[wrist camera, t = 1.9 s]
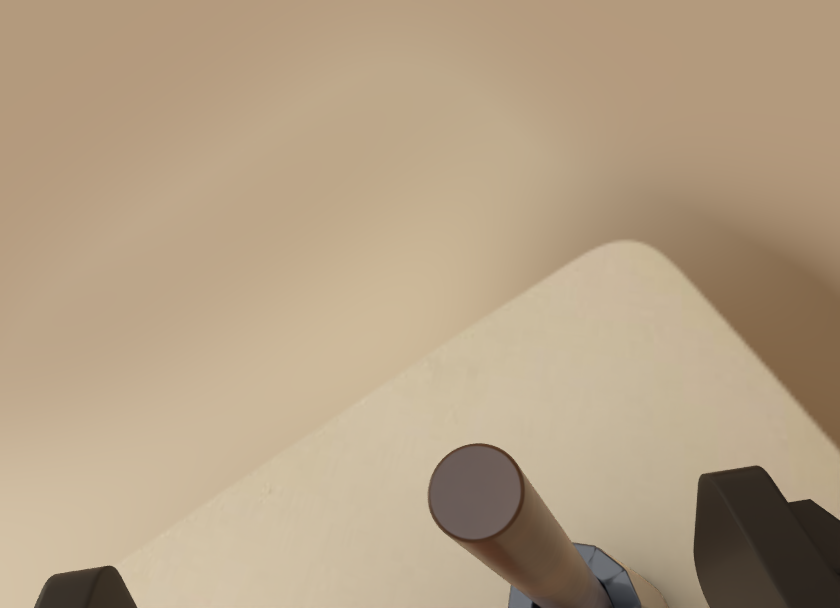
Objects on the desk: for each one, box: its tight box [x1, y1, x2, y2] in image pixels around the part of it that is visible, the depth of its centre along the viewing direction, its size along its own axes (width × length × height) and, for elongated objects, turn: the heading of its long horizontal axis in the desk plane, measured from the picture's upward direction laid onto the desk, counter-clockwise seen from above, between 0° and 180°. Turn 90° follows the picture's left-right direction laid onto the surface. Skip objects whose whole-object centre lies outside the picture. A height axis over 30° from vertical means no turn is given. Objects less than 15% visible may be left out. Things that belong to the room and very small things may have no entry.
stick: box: [428, 443, 613, 608], centre depth 20 cm, size 2×2×19 cm
